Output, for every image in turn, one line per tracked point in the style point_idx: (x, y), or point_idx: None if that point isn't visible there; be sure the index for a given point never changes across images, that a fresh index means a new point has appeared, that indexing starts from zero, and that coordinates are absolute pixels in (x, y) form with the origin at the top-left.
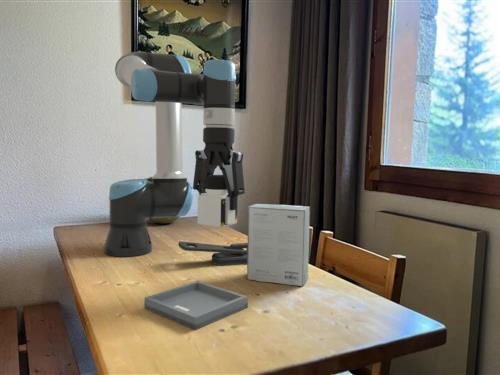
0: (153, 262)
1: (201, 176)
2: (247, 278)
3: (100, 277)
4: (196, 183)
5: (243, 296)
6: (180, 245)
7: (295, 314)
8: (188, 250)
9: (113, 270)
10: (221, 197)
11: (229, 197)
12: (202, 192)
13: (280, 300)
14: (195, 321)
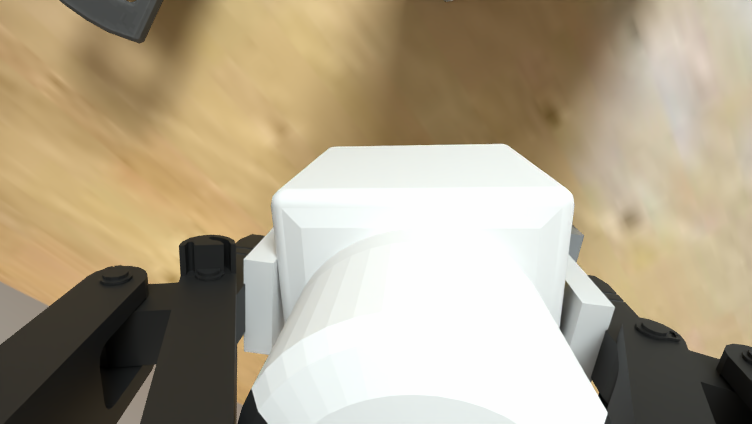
0: (43, 55)
1: (66, 416)
2: (447, 1)
3: (87, 269)
4: (124, 403)
5: (571, 242)
6: (89, 21)
7: (718, 192)
8: (149, 27)
9: (48, 205)
10: None
11: (587, 375)
12: (238, 334)
13: (640, 120)
14: None
